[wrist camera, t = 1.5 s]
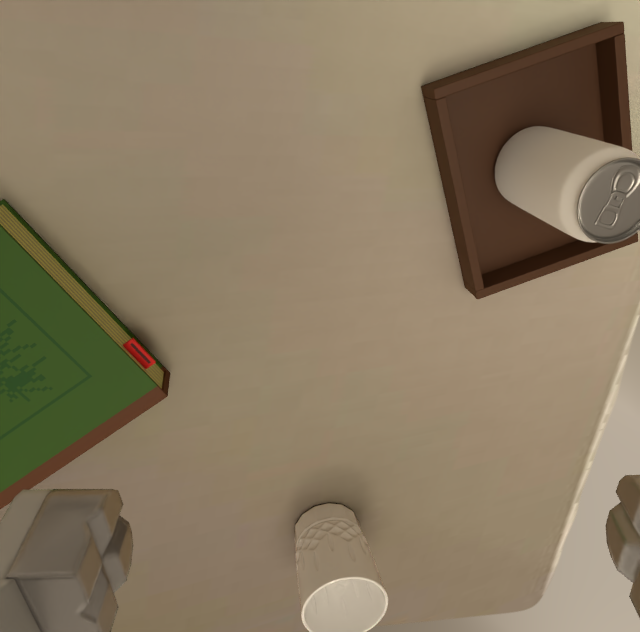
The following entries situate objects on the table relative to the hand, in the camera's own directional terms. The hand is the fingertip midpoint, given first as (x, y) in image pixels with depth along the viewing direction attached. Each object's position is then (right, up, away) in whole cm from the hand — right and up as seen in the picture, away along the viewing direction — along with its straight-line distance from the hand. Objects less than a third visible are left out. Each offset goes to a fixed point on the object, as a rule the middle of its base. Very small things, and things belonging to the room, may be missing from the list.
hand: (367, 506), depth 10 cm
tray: (+16, +16, +40) cm, 46 cm away
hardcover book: (-29, -1, +39) cm, 49 cm away
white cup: (0, -19, +53) cm, 56 cm away
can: (+16, +16, +39) cm, 45 cm away
